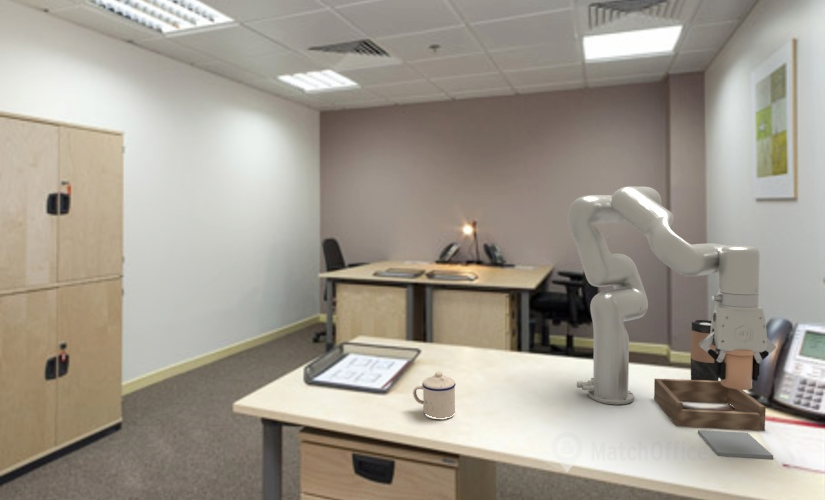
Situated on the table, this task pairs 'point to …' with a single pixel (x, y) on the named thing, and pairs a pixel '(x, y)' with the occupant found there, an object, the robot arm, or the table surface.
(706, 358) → the travel mug
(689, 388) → the brown wooden square frame
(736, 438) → the slate mat
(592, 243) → the robot arm
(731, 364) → the terracotta pot
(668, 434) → the table surface
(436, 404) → the teacup with lid
